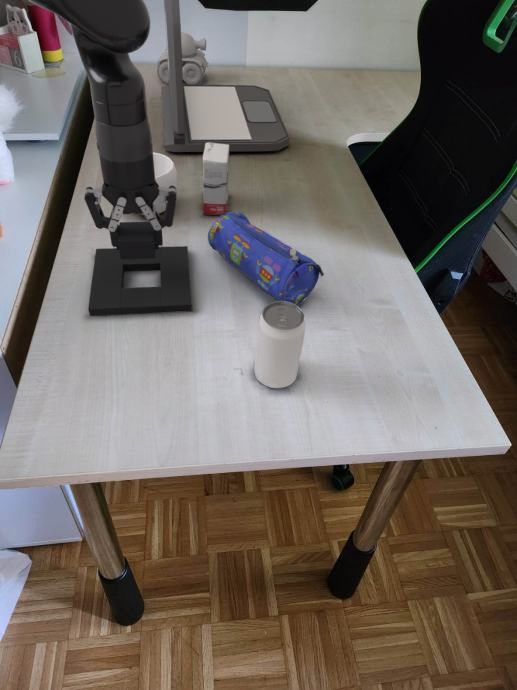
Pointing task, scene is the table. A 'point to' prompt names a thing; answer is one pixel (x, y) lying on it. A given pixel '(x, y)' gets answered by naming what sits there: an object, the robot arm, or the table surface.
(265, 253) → the pencil case
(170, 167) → the cup
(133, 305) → the socket pad
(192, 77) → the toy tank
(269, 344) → the can
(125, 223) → the plug pad
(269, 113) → the gray camera stand
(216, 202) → the ink box
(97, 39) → the robot arm
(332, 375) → the table surface
